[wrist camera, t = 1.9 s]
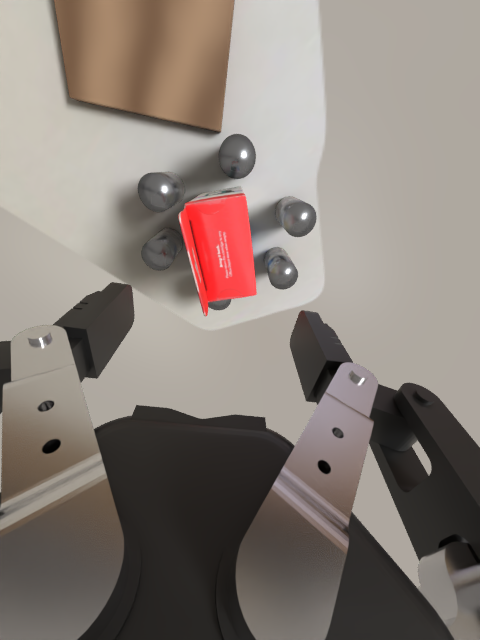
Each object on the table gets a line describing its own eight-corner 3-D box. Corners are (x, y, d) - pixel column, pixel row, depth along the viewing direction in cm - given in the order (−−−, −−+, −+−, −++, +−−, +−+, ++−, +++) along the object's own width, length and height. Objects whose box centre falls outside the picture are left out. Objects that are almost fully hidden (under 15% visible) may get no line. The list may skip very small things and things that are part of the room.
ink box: (251, 257, 31) (261, 314, 19) (215, 262, 32) (202, 322, 19) (242, 184, 27) (248, 197, 14) (200, 191, 27) (170, 210, 15)
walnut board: (76, 100, 23) (69, 97, 22) (34, -187, 15) (20, -212, 14) (220, 132, 24) (220, 130, 23) (246, -114, 17) (247, -132, 16)
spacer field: (157, 279, 33) (143, 299, 28) (155, 122, 24) (133, 110, 19) (276, 297, 35) (283, 319, 30) (317, 158, 26) (337, 156, 20)
